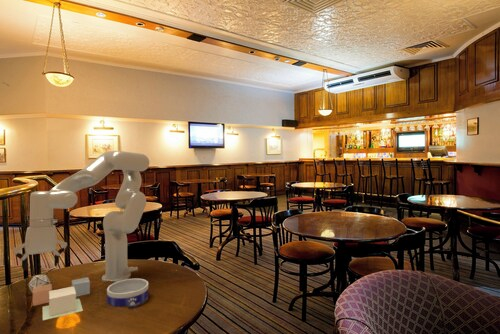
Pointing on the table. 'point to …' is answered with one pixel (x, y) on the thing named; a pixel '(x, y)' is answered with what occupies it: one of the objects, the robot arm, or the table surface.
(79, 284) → the slate brick
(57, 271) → the table surface
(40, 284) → the game die
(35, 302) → the terracotta brick
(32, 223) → the robot arm
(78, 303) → the plate
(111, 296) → the dog bowl
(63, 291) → the base brick
